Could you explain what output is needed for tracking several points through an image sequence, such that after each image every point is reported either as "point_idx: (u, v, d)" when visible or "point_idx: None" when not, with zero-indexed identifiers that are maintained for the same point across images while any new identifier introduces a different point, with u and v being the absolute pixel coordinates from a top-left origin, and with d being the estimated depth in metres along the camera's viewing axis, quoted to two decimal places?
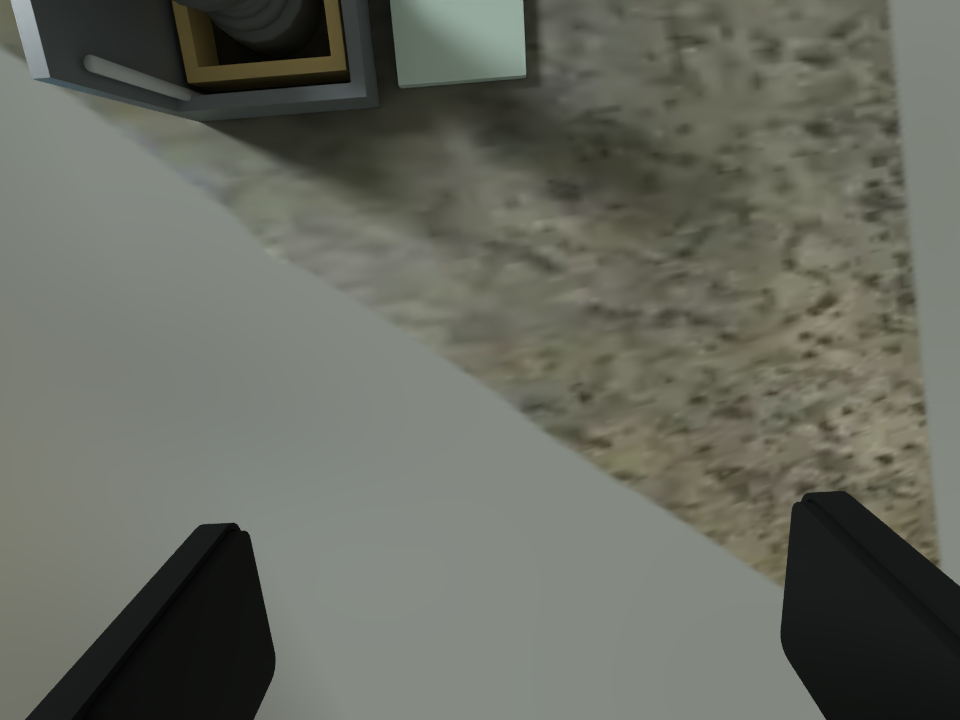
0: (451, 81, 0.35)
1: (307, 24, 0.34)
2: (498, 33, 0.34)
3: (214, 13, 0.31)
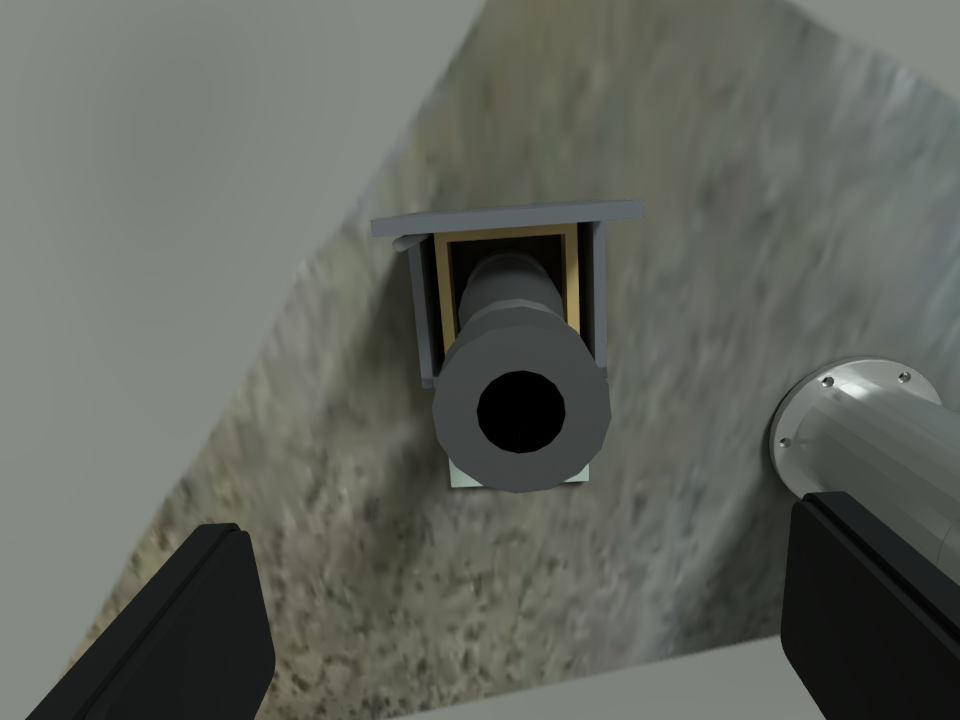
0: None
1: None
2: None
3: None
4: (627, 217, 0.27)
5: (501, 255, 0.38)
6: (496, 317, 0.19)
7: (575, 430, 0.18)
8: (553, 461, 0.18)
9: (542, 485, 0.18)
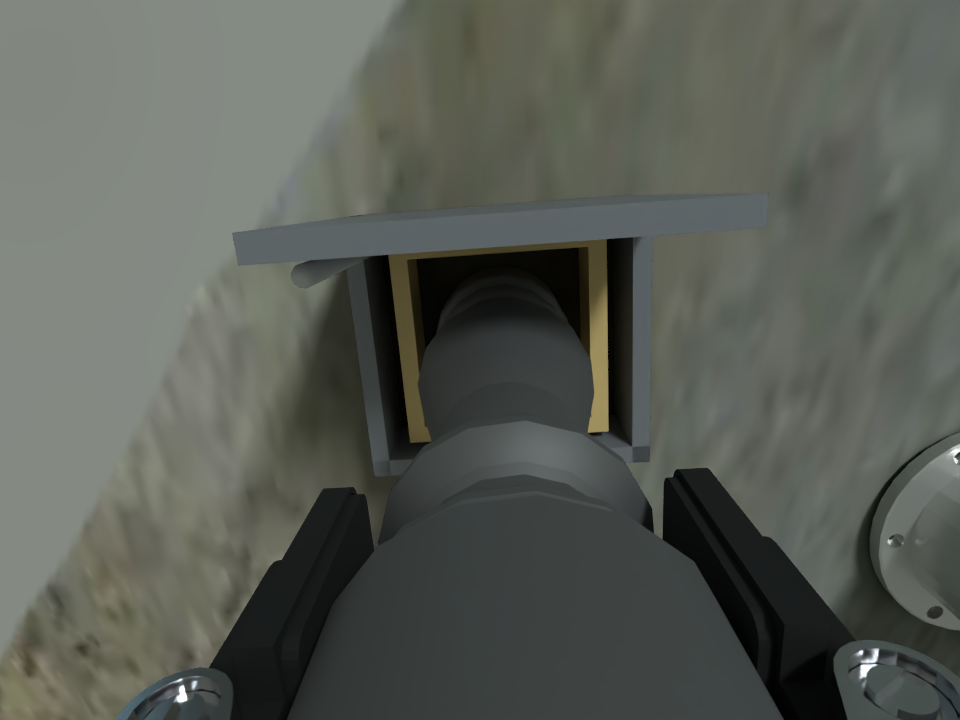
0: None
1: None
2: None
3: None
4: (733, 227, 0.14)
5: (491, 279, 0.25)
6: (458, 576, 0.06)
7: None
8: None
9: None
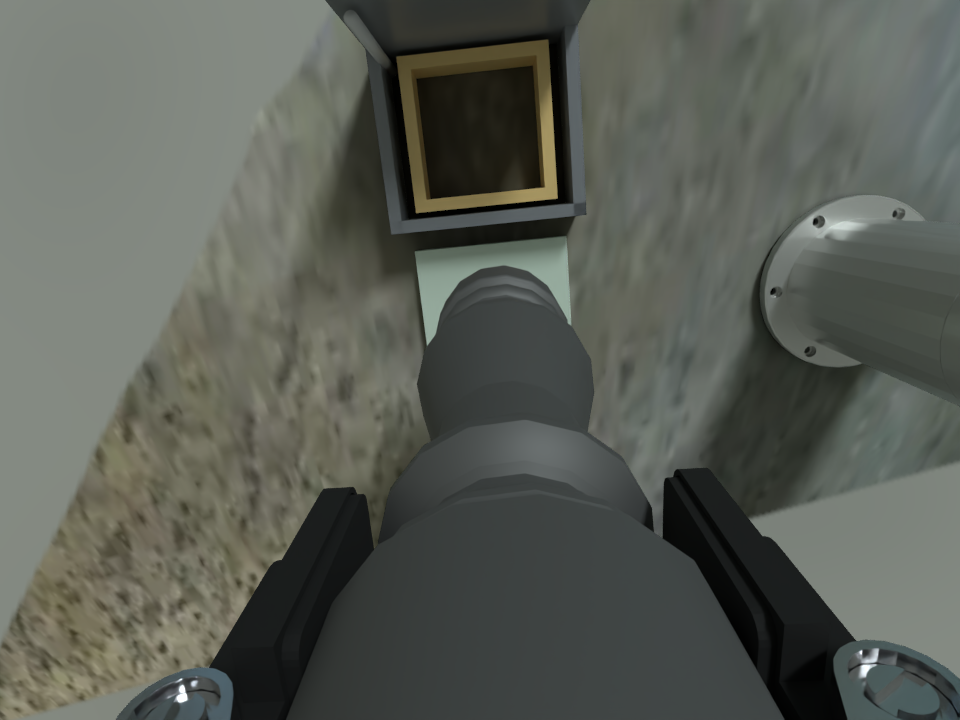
0: None
1: None
2: None
3: None
4: None
5: (491, 279, 0.25)
6: (459, 574, 0.06)
7: None
8: None
9: None
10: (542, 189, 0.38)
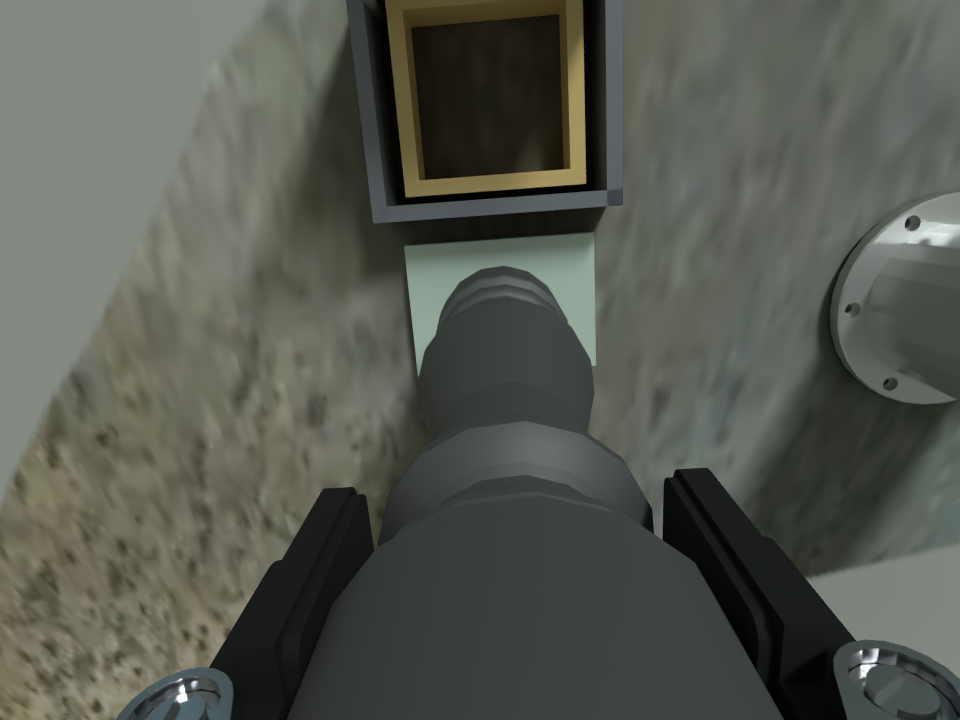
0: (410, 302, 0.34)
1: None
2: None
3: None
4: None
5: (490, 279, 0.25)
6: (459, 577, 0.06)
7: None
8: None
9: None
10: (567, 171, 0.29)
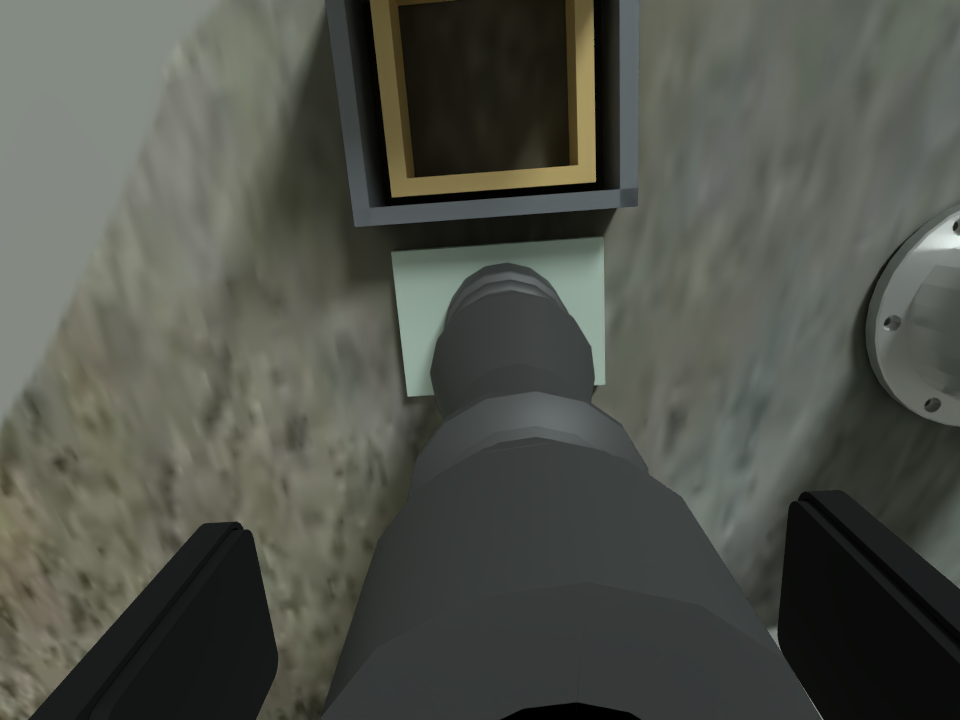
0: (398, 314, 0.30)
1: None
2: None
3: None
4: None
5: (495, 275, 0.26)
6: (489, 499, 0.07)
7: None
8: None
9: None
10: (574, 168, 0.26)
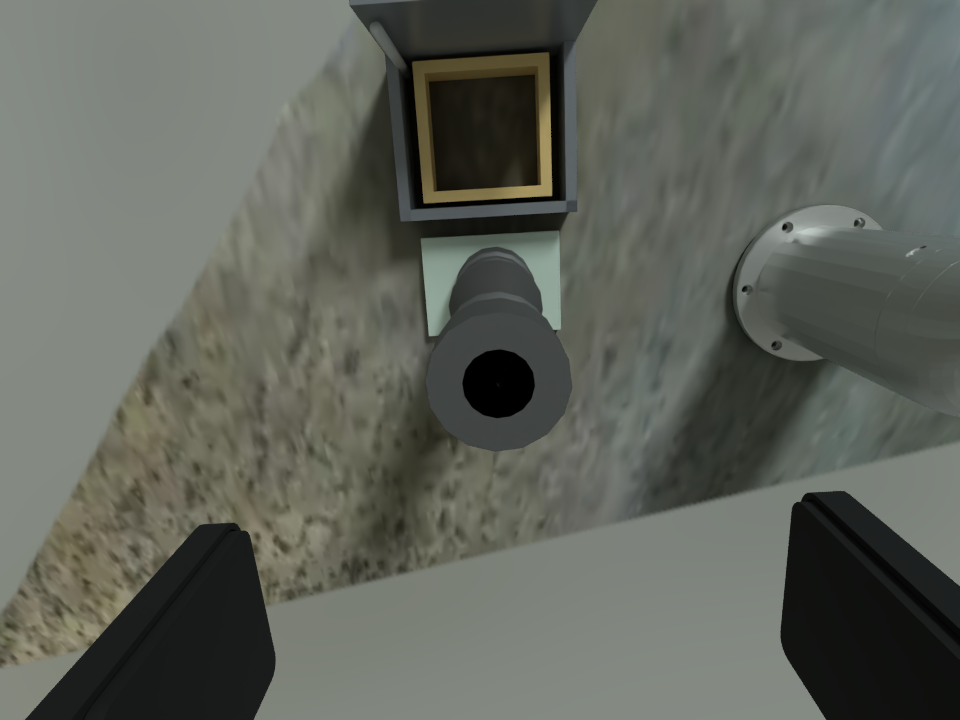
0: (424, 280, 0.46)
1: None
2: None
3: None
4: None
5: (488, 253, 0.42)
6: (478, 306, 0.23)
7: (542, 398, 0.22)
8: (525, 424, 0.22)
9: (517, 444, 0.22)
10: (538, 186, 0.42)
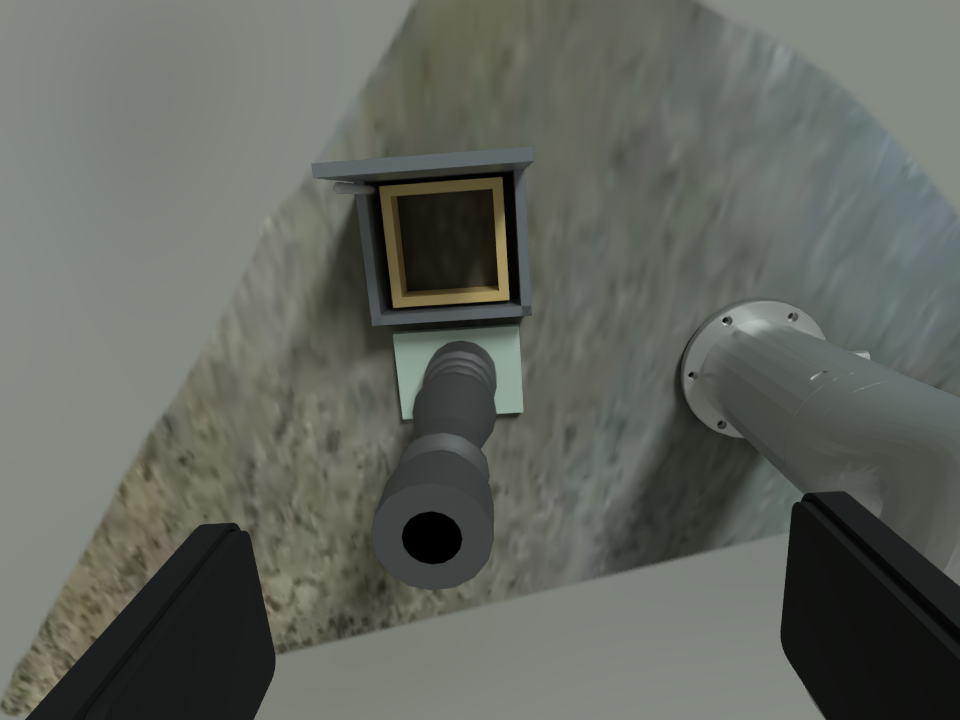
0: (397, 370, 0.50)
1: None
2: None
3: (431, 377, 0.45)
4: (520, 160, 0.33)
5: (451, 353, 0.46)
6: (416, 467, 0.27)
7: (469, 549, 0.26)
8: (456, 569, 0.26)
9: (450, 584, 0.27)
10: (497, 292, 0.46)
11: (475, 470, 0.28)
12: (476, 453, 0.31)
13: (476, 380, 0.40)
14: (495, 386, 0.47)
